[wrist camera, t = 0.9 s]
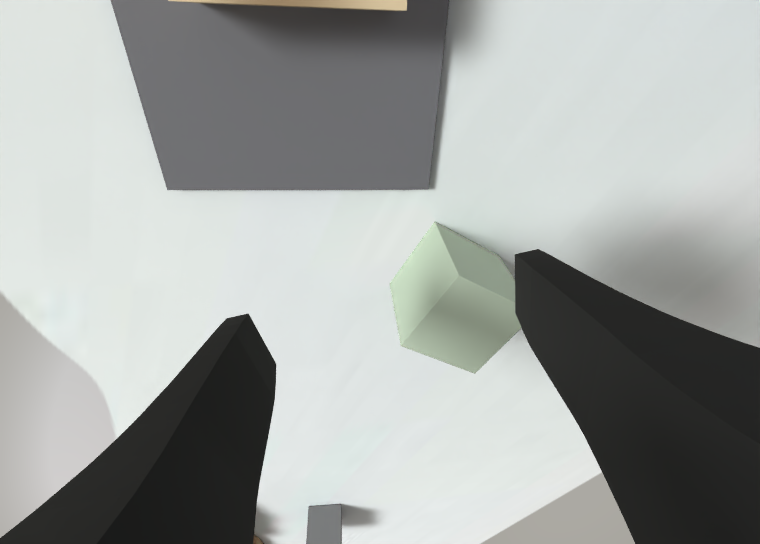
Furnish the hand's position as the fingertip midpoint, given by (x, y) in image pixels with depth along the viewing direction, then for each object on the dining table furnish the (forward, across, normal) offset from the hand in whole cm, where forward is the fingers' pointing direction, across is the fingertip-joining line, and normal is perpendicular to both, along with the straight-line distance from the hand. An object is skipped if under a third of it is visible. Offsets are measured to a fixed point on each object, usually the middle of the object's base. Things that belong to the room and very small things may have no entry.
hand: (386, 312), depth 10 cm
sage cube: (+10, -3, +6) cm, 12 cm away
